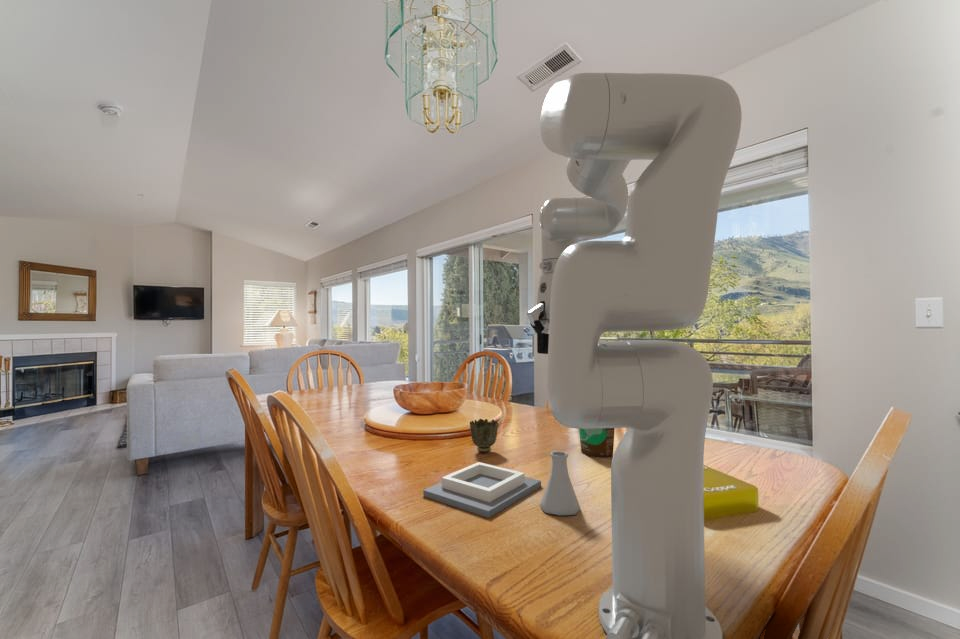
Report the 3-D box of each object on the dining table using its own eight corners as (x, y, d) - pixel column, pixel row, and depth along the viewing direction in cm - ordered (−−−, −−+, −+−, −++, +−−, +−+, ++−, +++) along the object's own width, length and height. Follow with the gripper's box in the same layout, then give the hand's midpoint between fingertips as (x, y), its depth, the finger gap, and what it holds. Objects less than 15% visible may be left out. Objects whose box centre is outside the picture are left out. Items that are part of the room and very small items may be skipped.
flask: (581, 518, 74) (580, 460, 75) (538, 515, 76) (537, 458, 76) (579, 501, 82) (579, 448, 82) (541, 499, 83) (540, 446, 83)
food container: (566, 449, 115) (566, 411, 115) (585, 446, 118) (584, 409, 118) (597, 462, 104) (596, 420, 104) (617, 458, 107) (616, 418, 107)
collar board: (488, 518, 75) (488, 499, 75) (423, 496, 85) (423, 479, 85) (541, 486, 89) (540, 470, 89) (480, 470, 99) (479, 456, 99)
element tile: (694, 524, 73) (693, 495, 73) (638, 491, 87) (638, 467, 87) (764, 512, 77) (763, 485, 77) (700, 483, 91) (700, 460, 91)
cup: (464, 454, 112) (464, 423, 112) (478, 446, 118) (477, 417, 119) (490, 458, 108) (490, 426, 109) (503, 450, 115) (502, 420, 115)
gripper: (541, 264, 82) (542, 355, 81) (602, 270, 91) (603, 351, 91) (516, 269, 88) (517, 353, 88) (575, 273, 98) (576, 349, 97)
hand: (561, 352), depth 89 cm, fingers open, 9 cm apart
